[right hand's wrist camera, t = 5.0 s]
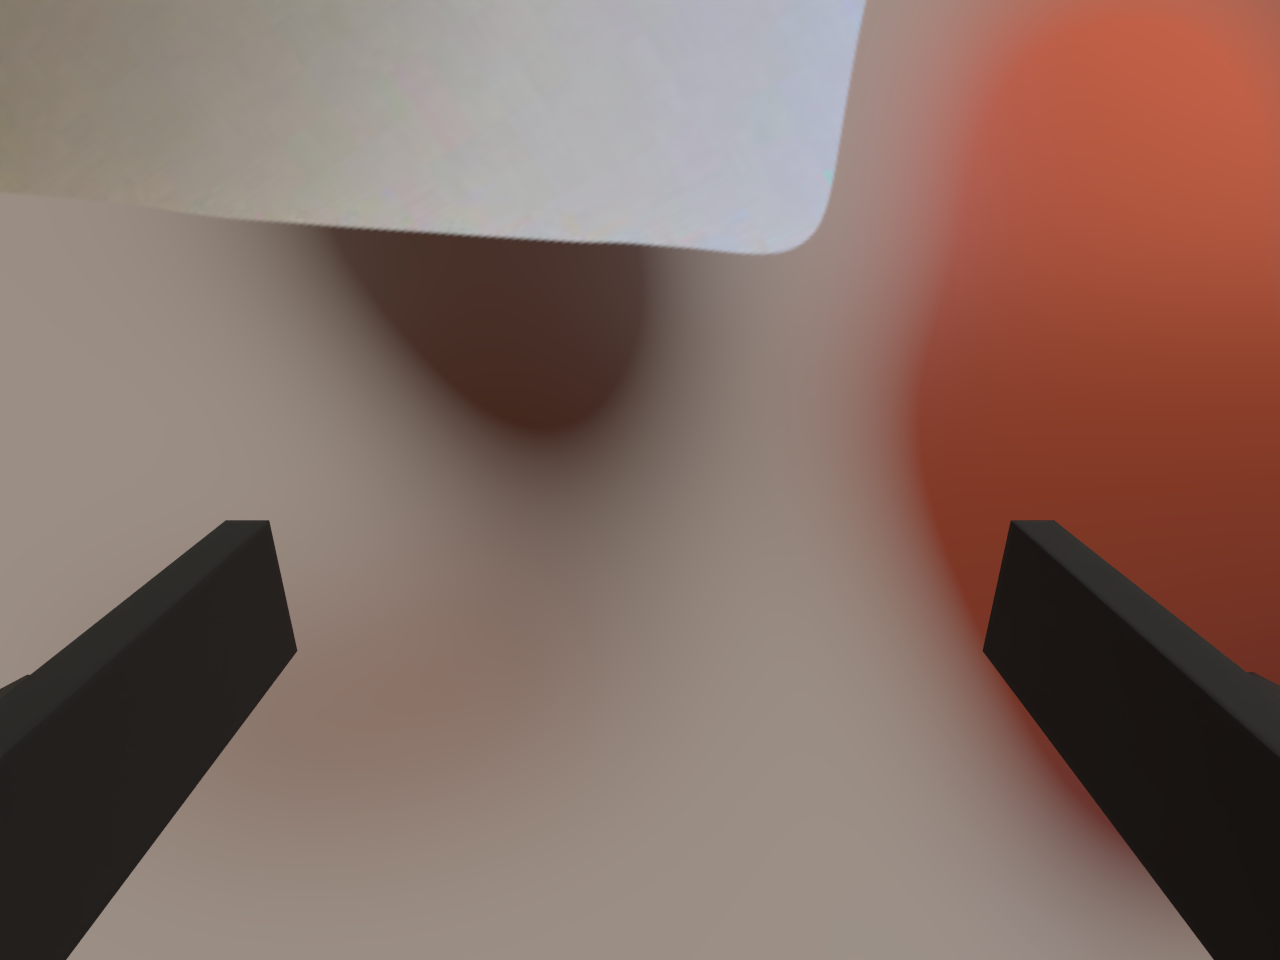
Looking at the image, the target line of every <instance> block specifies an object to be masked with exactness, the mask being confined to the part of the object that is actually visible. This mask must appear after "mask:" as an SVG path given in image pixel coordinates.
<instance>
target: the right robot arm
mask: <svg viewBox="0 0 1280 960" xmlns="http://www.w3.org/2000/svg"><path fill="white" fill-rule="evenodd" d="M296 652H297V647H296V643H295V638H294V633H293V629H292V624H291V620H290V615H289V610H288V606H287V601H286V596H285V592H284V587H283V583H282V578H281V573H280V569H279V564H278V560H277V555H276V550H275V546H274V541H273V536H272V532H271V527H270V522H269V521H268V520H267V521H264V520H260V521H257V520H256V521H255V520H254V521H253V520H242V521H241V520H240V521H239V520H235V521H234V520H230V521H229V520H226V521H225V522H223V523H222V524H221V525H219V526H218V527H217V528H216V529H214V530H213V531H212V532H211V533H209V534H208V535H207V536H206V537H204V538H203V539H202V540H201V541H199V542H198V543H197V544H195V545H194V546H193V547H192V548H190V549H189V550H188V551H187V552H185V553H184V554H183V555H182V556H180V557H179V558H178V559H176V560H175V561H174V562H173V563H171V564H170V565H169V566H168V567H166V568H165V569H164V570H163V571H161V572H160V573H159V574H158V575H156V576H155V577H154V578H152V579H151V580H150V581H149V582H147V583H146V584H145V585H144V586H142V587H141V588H140V589H138V590H137V591H136V592H135V593H133V594H132V595H131V596H130V597H128V598H127V599H126V600H125V601H123V602H122V603H121V604H120V605H118V606H117V607H116V608H114V609H113V610H112V611H111V612H109V613H108V614H107V615H106V616H104V617H103V618H102V619H101V620H99V621H98V622H97V623H95V624H94V625H93V626H92V627H90V628H89V629H88V630H87V631H85V632H84V633H83V634H82V635H80V636H79V637H78V638H77V639H75V640H74V641H73V642H71V643H70V644H69V645H68V646H66V647H65V648H64V649H63V650H61V651H60V652H59V653H58V654H56V655H55V656H54V657H52V658H51V659H50V660H49V661H47V662H46V663H45V664H44V665H42V666H41V667H40V668H39V669H37V670H36V671H35V672H34V673H32V674H31V675H26V676H24V677H22V678H20V679H19V680H17V681H15V682H13V683H11V684H9V685H7V686H5V687H3V688H1V689H0V960H66V959H67V958H68V957H69V955H70V954H71V952H72V951H73V950H74V948H75V947H76V946H77V944H78V943H79V942H80V940H81V939H82V938H83V936H84V935H85V934H86V932H87V931H88V930H89V928H90V927H91V926H92V924H93V923H94V922H95V920H96V919H97V918H98V916H99V915H100V914H101V912H102V911H103V910H104V908H105V907H106V906H107V904H108V903H109V902H110V900H111V899H112V898H113V896H114V895H115V894H116V892H117V891H118V890H119V888H120V887H121V886H122V884H123V883H124V882H125V880H126V879H127V878H128V876H129V875H130V874H131V872H132V871H133V870H134V868H135V867H136V866H137V864H138V863H139V862H140V860H141V859H142V858H143V856H144V855H145V854H146V852H147V851H148V850H149V848H150V847H151V846H152V844H153V843H154V842H155V840H156V839H157V838H158V836H159V835H160V834H161V832H162V831H163V830H164V828H165V827H166V826H167V824H168V823H169V822H170V820H171V819H172V818H173V816H174V815H175V814H176V812H177V811H178V810H179V808H180V807H181V806H182V804H183V803H184V802H185V800H186V799H187V797H188V796H189V795H190V794H191V792H192V791H193V790H194V788H195V787H196V785H197V784H198V783H199V781H200V780H201V779H202V777H203V776H204V775H205V773H206V772H207V771H208V769H209V768H210V767H211V765H212V764H213V763H214V761H215V760H216V759H217V757H218V756H219V755H220V753H221V752H222V751H223V749H224V748H225V747H226V745H227V744H228V743H229V741H230V740H231V739H232V737H233V736H234V735H235V733H236V732H237V731H238V729H239V728H240V727H241V725H242V724H243V723H244V721H245V720H246V719H247V717H248V716H249V715H250V713H251V712H252V711H253V709H254V708H255V707H256V705H257V704H258V703H259V701H260V700H261V699H262V697H263V696H264V695H265V693H266V692H267V691H268V689H269V688H270V687H271V685H272V684H273V683H274V681H275V680H276V679H277V677H278V676H279V675H280V673H281V672H282V671H283V669H284V668H285V667H286V665H287V664H288V663H289V661H290V660H291V659H292V657H293V656H294V655H295V653H296ZM983 652H984V653H985V655H986V656H987V657H988V659H989V660H990V661H991V663H992V664H993V665H994V667H995V668H996V669H997V671H998V672H999V673H1000V675H1001V676H1002V677H1003V679H1004V680H1005V681H1006V683H1007V684H1008V685H1009V687H1010V688H1011V689H1012V691H1013V692H1014V693H1015V695H1016V696H1017V697H1018V699H1019V700H1020V701H1021V703H1022V704H1023V705H1024V707H1025V708H1026V709H1027V711H1028V712H1029V713H1030V715H1031V716H1032V717H1033V719H1034V720H1035V721H1036V723H1037V724H1038V725H1039V727H1040V728H1041V729H1042V731H1043V732H1044V733H1045V735H1046V736H1047V737H1048V739H1049V740H1050V741H1051V743H1052V744H1053V745H1054V747H1055V748H1056V749H1057V751H1058V752H1059V753H1060V755H1061V756H1062V757H1063V759H1064V760H1065V761H1066V763H1067V764H1068V765H1069V767H1070V768H1071V769H1072V771H1073V772H1074V773H1075V775H1076V776H1077V777H1078V779H1079V780H1080V781H1081V783H1082V784H1083V785H1084V787H1085V788H1086V790H1087V791H1088V792H1089V794H1090V795H1091V796H1092V797H1093V799H1094V800H1095V802H1096V803H1097V804H1098V805H1099V807H1100V808H1101V810H1102V811H1103V812H1104V814H1105V815H1106V816H1107V818H1108V819H1109V820H1110V822H1111V823H1112V824H1113V826H1114V827H1115V828H1116V830H1117V831H1118V832H1119V834H1120V835H1121V836H1122V838H1123V839H1124V840H1125V842H1126V843H1127V844H1128V846H1129V847H1130V848H1131V850H1132V851H1133V852H1134V854H1135V855H1136V856H1137V858H1138V859H1139V860H1140V862H1141V863H1142V864H1143V866H1144V867H1145V868H1146V870H1147V871H1148V872H1149V874H1150V875H1151V876H1152V878H1153V879H1154V880H1155V882H1156V883H1157V884H1158V886H1159V887H1160V888H1161V890H1162V891H1163V892H1164V894H1165V895H1166V896H1167V898H1168V899H1169V900H1170V902H1171V903H1172V904H1173V906H1174V907H1175V908H1176V910H1177V911H1178V912H1179V914H1180V915H1181V916H1182V918H1183V919H1184V920H1185V922H1186V923H1187V924H1188V926H1189V927H1190V928H1191V930H1192V931H1193V932H1194V934H1195V935H1196V936H1197V938H1198V939H1199V940H1200V942H1201V943H1202V944H1203V946H1204V947H1205V948H1206V950H1207V951H1208V953H1209V954H1210V955H1211V956H1212V958H1213V959H1214V960H1280V686H1279V685H1277V684H1275V683H1273V682H1271V681H1269V680H1267V679H1265V678H1264V677H1262V676H1260V675H1258V674H1256V673H1254V672H1245V671H1244V670H1243V669H1241V668H1240V667H1239V666H1238V665H1236V664H1235V663H1234V662H1232V661H1231V660H1230V659H1229V658H1227V657H1226V656H1225V655H1224V654H1222V653H1221V652H1220V651H1219V650H1217V649H1216V648H1215V647H1214V646H1212V645H1211V644H1210V643H1209V642H1207V641H1206V640H1205V639H1203V638H1202V637H1201V636H1200V635H1198V634H1197V633H1196V632H1195V631H1193V630H1192V629H1191V628H1190V627H1188V626H1187V625H1186V624H1184V623H1183V622H1182V621H1181V620H1179V619H1178V618H1177V617H1176V616H1174V615H1173V614H1172V613H1171V612H1169V611H1168V610H1167V609H1165V608H1164V607H1163V606H1162V605H1160V604H1159V603H1158V602H1157V601H1155V600H1154V599H1153V598H1152V597H1150V596H1149V595H1148V594H1147V593H1145V592H1144V591H1143V590H1142V589H1140V588H1139V587H1138V586H1136V585H1135V584H1134V583H1133V582H1131V581H1130V580H1129V579H1128V578H1126V577H1125V576H1124V575H1122V574H1121V573H1120V572H1119V571H1117V570H1116V569H1115V568H1114V567H1112V566H1111V565H1110V564H1109V563H1107V562H1106V561H1105V560H1104V559H1102V558H1101V557H1100V556H1098V555H1097V554H1096V553H1095V552H1093V551H1092V550H1091V549H1090V548H1088V547H1087V546H1086V545H1085V544H1083V543H1082V542H1081V541H1080V540H1078V539H1077V538H1076V537H1074V536H1073V535H1072V534H1071V533H1069V532H1068V531H1067V530H1066V529H1064V528H1063V527H1062V526H1061V525H1059V524H1058V523H1057V522H1055V521H1054V520H1052V521H1051V520H1042V521H1041V520H1034V521H1033V520H1029V521H1028V520H1012V521H1011V522H1010V527H1009V532H1008V536H1007V541H1006V546H1005V550H1004V555H1003V559H1002V564H1001V569H1000V573H999V578H998V583H997V587H996V592H995V596H994V601H993V606H992V610H991V615H990V620H989V624H988V629H987V633H986V638H985V643H984V647H983Z"/></svg>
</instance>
